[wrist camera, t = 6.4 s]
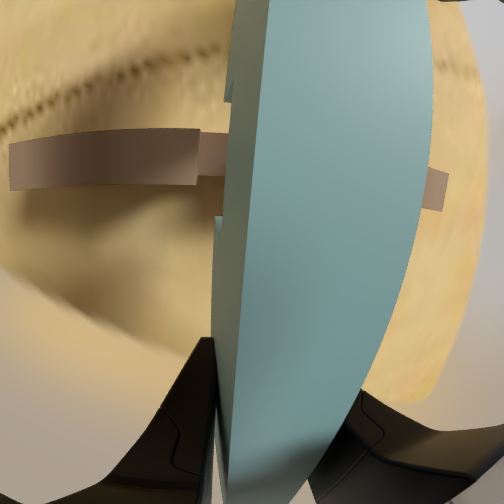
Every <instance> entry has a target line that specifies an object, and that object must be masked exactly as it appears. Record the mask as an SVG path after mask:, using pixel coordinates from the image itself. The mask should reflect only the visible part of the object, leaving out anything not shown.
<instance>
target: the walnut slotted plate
mask: <svg viewBox="0 0 504 504" xmlns="http://www.w3.org/2000/svg"><path fill="white" fill-rule="evenodd" d="M228 137H229V134H227V133H209V132H201V131H200V129H187V128H147V129H121V130H106V131H94V132H83V133H74V134H66V135H59V136H52V137H45V138H39V139H33V140H28V141H23V142H18V143H13V144H9V177H10V191H16V190H27V189H39V188H52V187H69V186H90V185H132V184H160V185H196V183H197V178H198V175H200V176H223V177H225V173H226V161H227V148H228ZM448 175H449V174H448V173H445V172H442V171H439V170H436V169H433V168H430V167H428V169H427V176H426V183H425V189H424V195H423V201H422V206H421V208H425V209H430V210H435V211H441V212H442V208H443V204H444V198H445V193H446V188H447V182H448Z"/></svg>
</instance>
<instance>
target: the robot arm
mask: <svg viewBox="0 0 504 504" xmlns="http://www.w3.org/2000/svg"><path fill="white" fill-rule="evenodd" d="M216 381H217V362H216V353H215V345H214V338H213V337H201V338H200V339H199V341H198V343H197V344H196V346H195V348H194V350H193V351H192V353H191V355H190V356H189V358H188V360H187V361H186V363H185V365H184V367H183V368H182V370H181V372H180V373H179V375H178V377H177V378H176V380H175V382H174V384H173V385H172V387H171V389H170V390H169V392H168V394H167V396H166V397H165V399H164V401H163V402H162V404H161V406H160V408H159V409H158V411H157V412H156V414H155V416H154V417H153V419H152V420H151V422H150V424H149V425H148V427H147V428H146V430H145V431H144V432H143V434H142V435H141V436H140V438H139V439H138V440H137V441H136V443H135V444H134V445H133V446H132V448H131V449H130V450H129V451H128V452H127V454H126V455H125V456H124V457H123V458H122V459H121V461H120V462H119V463H118V464H117V465H116V467H115V468H114V469H113V470H112V471H111V472H110V473H109V474H108V475H107V476H106V477H105V478H104V479H103V480H101V481H100V482H98V483H96V484H95V485H92V486H90V487H88V488H86V489H83V490H81V491H78V492H76V493H73V494H71V495H68V496H66V497H63V498H61V499H57V500H55V501H52V502H49V503H46V504H211V498H212V473H213V453H214V435H215V418H216ZM307 479H308V482H309V485H310V488H311V490H312V493H313V496H314V499H315V502H316V503H317V504H504V424H502V425H498V426H492V427H486V428H478V429H469V430H458V431H438V430H434V429H430V428H428V427H426V426H423V425H422V424H420V423H418V422H416V421H414V420H412V419H410V418H408V417H406V416H405V415H403V414H401V413H399V412H397V411H395V410H394V409H392V408H390V407H388V406H387V405H385V404H383V403H382V402H380V401H379V400H377V399H376V398H374V397H373V396H371V395H370V394H369V393H367V392H366V391H364V390H363V391H362V389H360V391H359V393H358V395H357V397H356V399H355V401H354V403H353V405H352V407H351V408H350V410H349V412H348V414H347V416H346V418H345V419H344V421H343V423H342V425H341V427H340V428H339V430H338V432H337V433H336V435H335V437H334V439H333V440H332V442H331V443H330V445H329V447H328V448H327V450H326V452H325V453H324V455H323V456H322V458H321V459H320V461H319V462H318V464H317V465H316V467H315V468H314V470H313V471H312V473H311V474H310V476H309V477H308V478H307ZM0 504H22V503H19V502H17V501H15V500H13V499H11V498H9V497H7V496H5V495H3V494H1V493H0Z"/></svg>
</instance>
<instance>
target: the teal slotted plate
mask: <svg viewBox="0 0 504 504" xmlns="http://www.w3.org/2000/svg"><path fill="white" fill-rule="evenodd" d="M224 102H229V103H232V105H231V115H230V126H229V137H228V148H227V161H226V173H225V187H224V201H223V216H215V223H214V243H213V268H212V300H211V337H213V338H214V345H215V353H216V362H217V381H216V418H215V445H216V453H217V462H218V470H219V477H220V485H221V492H222V498H223V504H289V502H290V501H291V500H292V499H293V497H294V496H295V495H296V493H297V492H298V491H299V489H300V488H301V487H302V485H303V484H304V483H305V481H306V480H307V478H308V477H309V476H310V474H311V473H312V471H313V470H314V468H315V467H316V465H317V464H318V462H319V461H320V459H321V458H322V456H323V455H324V453H325V452H326V450H327V448H328V447H329V445H330V443H331V442H332V440H333V439H334V437H335V435H336V433H337V432H338V430H339V428H340V427H341V425H342V423H343V421H344V419H345V418H346V416H347V414H348V412H349V410H350V408H351V407H352V405H353V403H354V401H355V399H356V397H357V395H358V393H359V391H360V389H361V387H362V385H363V383H364V381H365V378H366V376H367V374H368V372H369V370H370V368H371V365H372V363H373V361H374V358H375V356H376V354H377V351H378V349H379V347H380V344H381V342H382V339H383V337H384V334H385V332H386V329H387V326H388V324H389V321H390V318H391V316H392V313H393V310H394V307H395V304H396V301H397V298H398V295H399V292H400V289H401V286H402V283H403V279H404V276H405V273H406V269H407V266H408V262H409V258H410V255H411V251H412V247H413V243H414V239H415V234H416V230H417V226H418V221H419V216H420V211H421V206H422V201H423V195H424V189H425V183H426V176H427V169H428V161H429V153H430V143H431V130H432V113H433V62H432V45H431V34H430V25H429V17H428V10H427V4H426V0H236V7H235V13H234V20H233V28H232V35H231V43H230V50H229V59H228V67H227V76H226V85H225V94H224Z"/></svg>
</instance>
